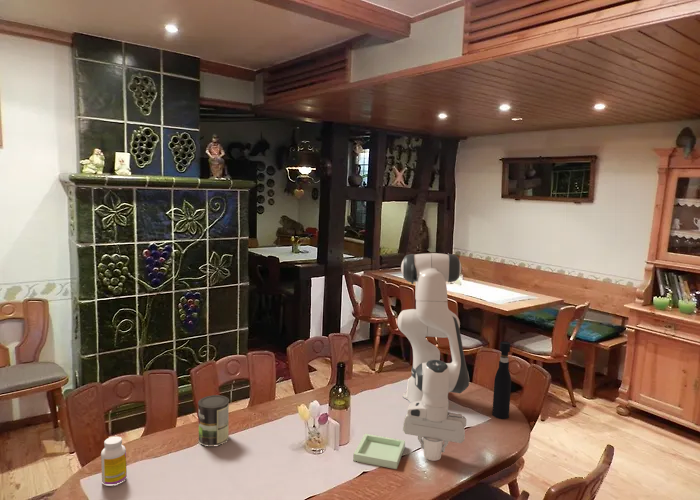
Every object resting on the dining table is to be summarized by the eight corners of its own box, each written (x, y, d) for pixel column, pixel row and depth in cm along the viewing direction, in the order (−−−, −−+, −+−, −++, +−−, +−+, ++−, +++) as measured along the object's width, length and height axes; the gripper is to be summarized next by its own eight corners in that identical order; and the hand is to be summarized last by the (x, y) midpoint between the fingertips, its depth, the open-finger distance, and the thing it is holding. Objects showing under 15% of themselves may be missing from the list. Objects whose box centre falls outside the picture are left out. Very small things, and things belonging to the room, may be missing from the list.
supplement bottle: (130, 481, 145) (129, 440, 143) (107, 490, 140) (106, 448, 139) (120, 472, 149) (119, 432, 148) (98, 481, 144) (96, 440, 143)
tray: (364, 439, 173) (364, 433, 173) (404, 447, 169) (405, 440, 168) (353, 460, 159) (353, 453, 159) (396, 469, 155) (396, 462, 155)
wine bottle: (510, 419, 192) (515, 345, 188) (493, 418, 192) (498, 344, 189) (507, 412, 198) (512, 340, 194) (491, 411, 199) (495, 339, 195)
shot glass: (442, 463, 159) (443, 442, 159) (421, 460, 161) (422, 440, 160) (442, 452, 166) (443, 432, 165) (422, 449, 167) (423, 430, 167)
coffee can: (201, 449, 163) (201, 409, 162) (195, 436, 172) (195, 397, 171) (232, 443, 168) (232, 404, 166) (225, 430, 177) (225, 393, 175)
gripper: (467, 411, 162) (465, 450, 163) (406, 401, 167) (404, 439, 169) (466, 419, 156) (463, 460, 157) (402, 409, 161) (401, 448, 163)
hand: (432, 449), depth 163 cm, fingers closed on shot glass, 5 cm apart
